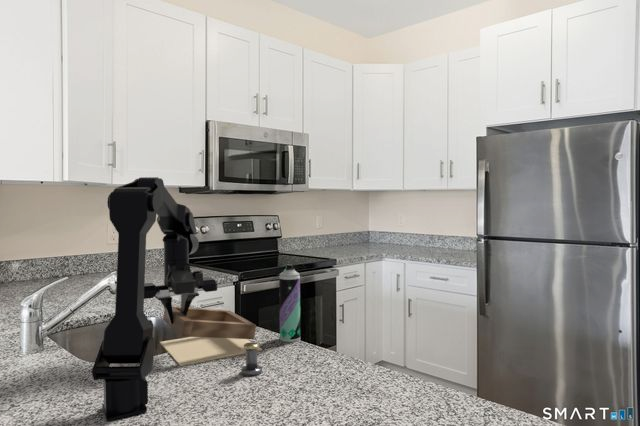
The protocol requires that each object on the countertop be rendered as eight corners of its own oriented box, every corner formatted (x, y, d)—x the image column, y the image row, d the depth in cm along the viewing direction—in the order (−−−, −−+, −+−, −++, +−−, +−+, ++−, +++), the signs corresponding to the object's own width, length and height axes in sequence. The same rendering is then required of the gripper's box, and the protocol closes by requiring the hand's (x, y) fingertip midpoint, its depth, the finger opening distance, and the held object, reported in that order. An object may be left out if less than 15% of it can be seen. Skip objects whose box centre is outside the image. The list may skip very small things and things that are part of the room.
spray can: (275, 339, 119) (274, 264, 119) (291, 334, 123) (290, 262, 123) (289, 343, 115) (288, 266, 115) (304, 339, 119) (304, 264, 119)
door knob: (246, 377, 93) (245, 349, 93) (238, 371, 97) (238, 343, 97) (265, 373, 95) (265, 345, 95) (257, 366, 99) (256, 340, 99)
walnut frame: (181, 336, 101) (184, 320, 101) (162, 319, 116) (165, 305, 116) (253, 339, 110) (256, 325, 110) (227, 323, 125) (230, 310, 126)
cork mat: (180, 366, 100) (180, 365, 100) (160, 343, 117) (160, 341, 117) (262, 350, 110) (262, 348, 110) (232, 330, 127) (232, 329, 127)
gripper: (142, 265, 97) (143, 337, 97) (224, 259, 107) (225, 324, 107) (133, 260, 106) (134, 325, 107) (209, 255, 116) (210, 314, 117)
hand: (177, 322), depth 109 cm, fingers closed on walnut frame, 2 cm apart
